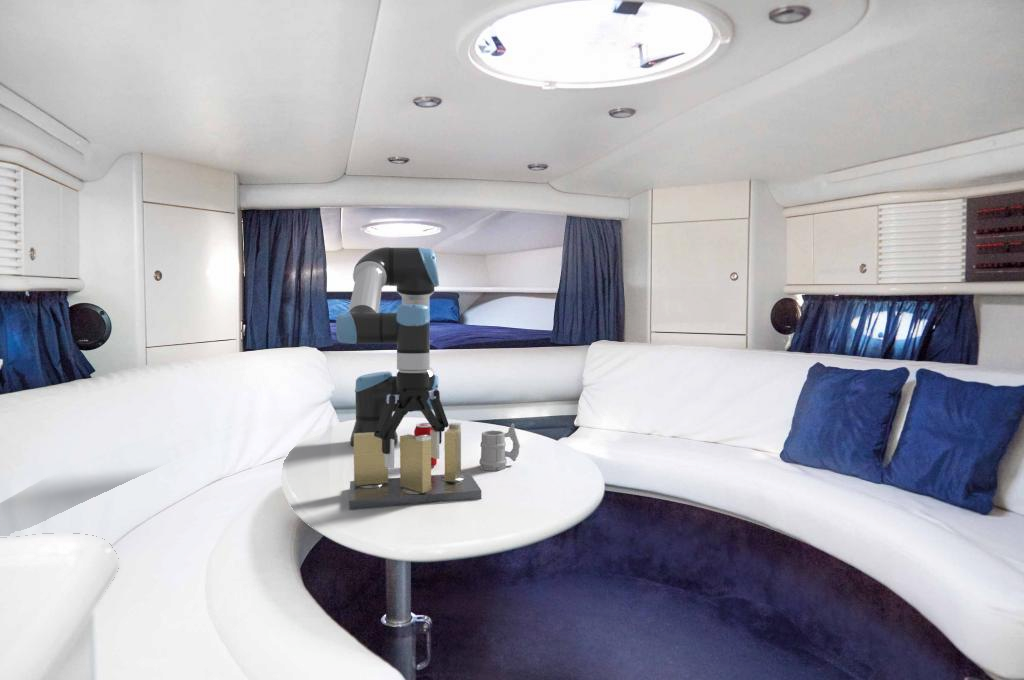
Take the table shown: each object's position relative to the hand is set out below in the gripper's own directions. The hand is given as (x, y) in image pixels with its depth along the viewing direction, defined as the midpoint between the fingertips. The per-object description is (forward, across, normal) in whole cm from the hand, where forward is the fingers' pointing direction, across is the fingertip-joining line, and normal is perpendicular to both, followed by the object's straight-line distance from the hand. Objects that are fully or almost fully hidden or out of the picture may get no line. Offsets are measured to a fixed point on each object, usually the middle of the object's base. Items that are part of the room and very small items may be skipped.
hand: (412, 462), depth 136 cm
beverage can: (+9, -19, -20) cm, 29 cm away
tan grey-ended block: (+6, -1, 0) cm, 6 cm away
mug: (+8, -34, -6) cm, 35 cm away
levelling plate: (+9, -2, -3) cm, 9 cm away
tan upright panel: (+6, -13, -1) cm, 14 cm away
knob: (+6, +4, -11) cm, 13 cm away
